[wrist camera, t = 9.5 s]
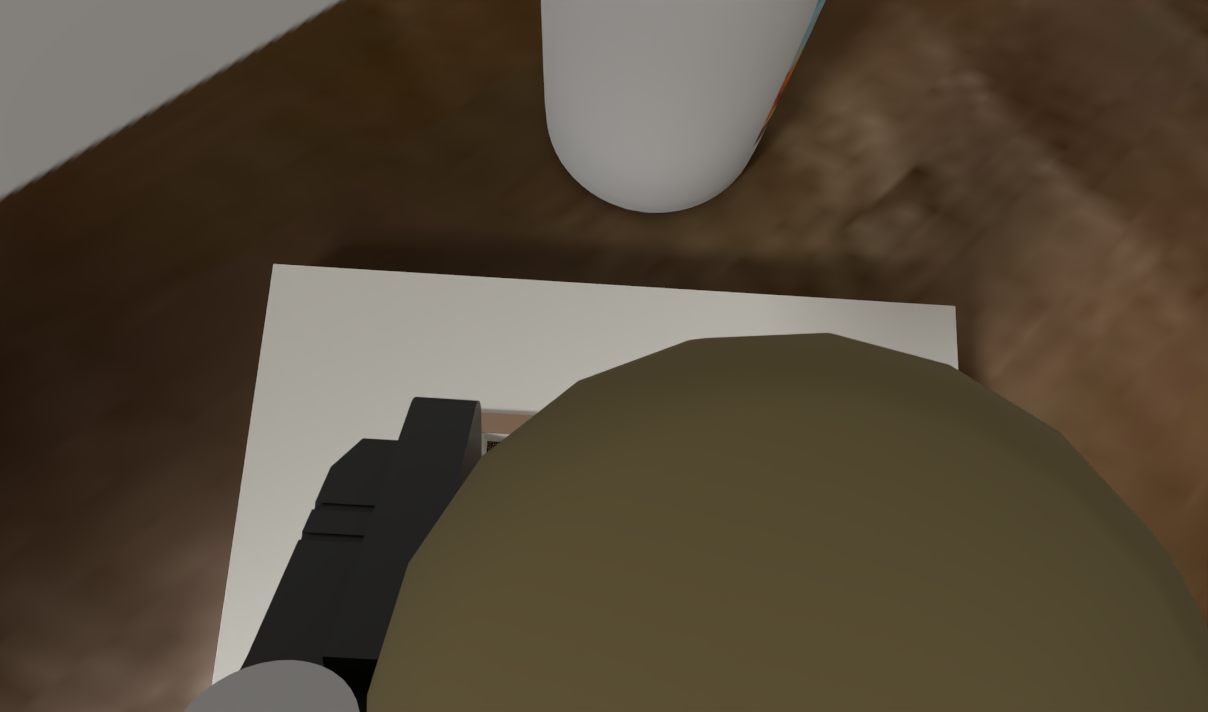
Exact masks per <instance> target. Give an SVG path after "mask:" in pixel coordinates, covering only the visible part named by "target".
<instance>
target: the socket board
mask: <svg viewBox="0 0 1208 712" xmlns="http://www.w3.org/2000/svg"><path fill="white" fill-rule="evenodd" d="M809 333H832V334H836V335H840V336H843V337H847V338H851V339H855V340H858V341H862V342H866V343H870V344H873V345H877V346H881V347H885V348H889V349H892V350H896V351H900V352H904V353H907V354H911V355H915V356H919V357H922V358H926V359H930V360H934V361H937V362H941V363H945V364H949V365H951V366H952V367H954V368H956V369H957V370H958V353H957V332H956V311H955V306H946V305H930V304H914V303H897V302H881V301H865V300H849V299H833V298H816V297H800V296H784V295H768V294H752V293H736V292H719V291H703V290H687V289H671V288H655V287H638V286H622V285H606V284H590V283H574V282H557V281H541V280H525V279H509V278H493V277H477V276H460V275H444V274H428V273H412V272H396V271H379V270H363V269H347V268H331V267H315V266H299V265H282V264H273V270H272V277H271V284H270V291H269V298H268V304H267V311H266V318H265V325H264V332H263V339H262V345H261V352H260V359H259V366H258V373H257V380H256V386H255V393H254V400H253V407H252V414H251V421H250V428H249V434H248V441H247V448H246V455H245V462H244V469H243V475H242V482H241V489H240V496H239V503H238V510H237V516H236V523H235V530H234V537H233V544H232V551H231V558H230V564H229V571H228V578H227V585H226V592H225V599H224V605H223V612H222V619H221V626H220V633H219V640H218V646H217V653H216V660H215V667H214V674H213V681H212V685H213V684H214V683H216V682H218V681H219V680H221V679H223V678H225V677H226V676H228V675H230V674H232V673H234V672H237V671H239V670H240V668H241V666H242V665H243V663H244V661H245V659H246V657H247V655H248V653H249V651H250V648H251V646H252V644H253V641H254V639H255V637H256V635H257V632H258V630H259V628H260V626H261V623H262V621H263V619H264V617H265V614H266V612H267V610H268V608H269V605H270V603H271V601H272V598H273V596H274V594H275V592H276V589H277V587H278V585H279V583H280V580H281V578H282V576H283V574H284V571H285V569H286V567H287V565H288V562H289V560H290V558H291V555H292V553H293V551H294V549H295V546H296V544H297V542H298V540H301V538H302V531H303V528H304V526H305V524H306V522H307V519H308V517H309V515H310V512H311V510H312V509H314V508H315V501H316V499H317V497H318V494H319V492H320V490H321V488H322V485H323V483H324V481H325V479H326V476H327V474H328V472H329V469H330V467H331V466H332V465H333V464H334V463H336V462H337V461H338V460H339V459H340V458H341V457H342V456H343V455H345V454H346V453H347V452H348V451H349V450H350V449H351V448H352V447H354V446H355V445H356V444H357V443H358V442H359V441H360V440H361V439H362V438H368V439H384V440H398V438H399V436H400V433H401V430H402V427H403V424H404V421H405V418H406V416H407V413H408V410H409V407H410V404H411V402H412V400H413V398H414V397H428V398H444V399H460V400H476V401H480V404H481V421H482V456H483V455H484V454H485V453H487V441H493V442H501V441H502V440H503V439H505V438H506V437H507V436H508V435H510V434H511V433H512V432H514V431H515V430H516V429H517V428H519V427H520V426H521V425H522V424H524V423H525V422H526V421H528V420H529V419H530V418H531V417H533V416H534V415H535V414H537V413H538V412H539V411H540V410H542V409H543V408H544V407H545V406H547V405H548V404H549V403H551V402H552V401H553V400H554V399H556V398H557V397H558V396H560V395H561V394H562V393H563V392H565V391H566V390H567V389H568V388H570V387H571V386H572V385H574V384H575V383H576V382H577V381H579V380H582V379H585V378H587V377H590V376H593V375H595V374H598V373H601V372H604V371H606V370H609V369H612V368H614V367H617V366H620V365H623V364H625V363H628V362H631V361H633V360H636V359H639V358H642V357H644V356H647V355H650V354H652V353H655V352H658V351H661V350H663V349H666V348H669V347H671V346H674V345H677V344H680V343H682V342H685V341H688V340H693V339H701V338H715V337H738V336H762V335H785V334H809Z"/></svg>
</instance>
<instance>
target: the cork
mask: <svg viewBox="0 0 1208 712" xmlns="http://www.w3.org/2000/svg"><path fill="white" fill-rule="evenodd" d="M367 712H1208V627H1207V625H1206V623H1205V621H1204V619H1203V617H1202V615H1201V613H1200V611H1199V610H1198V608H1197V606H1196V604H1195V602H1194V600H1193V598H1192V596H1191V594H1190V592H1189V590H1188V588H1187V586H1186V584H1185V582H1184V581H1183V579H1182V577H1181V575H1180V573H1179V571H1178V569H1177V567H1176V565H1175V563H1174V561H1173V559H1172V557H1171V556H1170V554H1169V553H1168V552H1167V550H1166V549H1165V548H1164V547H1163V545H1162V544H1161V543H1160V541H1159V540H1158V539H1157V538H1156V536H1155V535H1154V534H1153V532H1152V531H1151V530H1150V529H1149V528H1148V527H1147V526H1146V525H1145V524H1144V523H1143V522H1142V520H1141V519H1140V518H1139V517H1138V516H1137V515H1136V514H1135V513H1134V512H1133V511H1132V510H1131V509H1130V507H1129V506H1128V505H1127V504H1126V503H1125V502H1124V501H1123V500H1122V499H1121V498H1120V497H1119V496H1118V494H1117V493H1116V492H1115V491H1114V490H1113V489H1112V488H1111V487H1110V486H1109V485H1108V484H1107V483H1106V481H1105V480H1104V479H1103V478H1102V477H1101V476H1100V475H1099V474H1098V473H1097V472H1096V471H1095V470H1094V468H1093V467H1092V466H1091V465H1090V464H1089V463H1088V462H1087V461H1086V460H1085V459H1084V458H1083V457H1082V455H1081V454H1080V453H1079V452H1078V451H1077V450H1076V449H1075V448H1074V447H1073V446H1072V445H1071V444H1070V442H1069V441H1068V440H1067V439H1066V438H1065V437H1064V436H1063V435H1062V434H1061V433H1060V432H1059V431H1057V430H1056V429H1054V428H1052V427H1051V426H1049V425H1047V424H1046V423H1044V422H1042V421H1041V420H1039V419H1038V418H1036V417H1034V416H1033V415H1031V414H1029V413H1028V412H1026V411H1024V410H1023V409H1021V408H1020V407H1018V406H1016V405H1015V404H1013V403H1011V402H1010V401H1008V400H1006V399H1005V398H1003V397H1002V396H1000V395H998V394H997V393H995V392H993V391H992V390H990V389H988V388H987V387H985V386H984V385H982V384H980V383H979V382H977V381H975V380H974V379H972V378H970V377H969V376H967V375H966V374H964V373H962V372H961V371H959V370H957V369H956V368H954V367H952V366H951V365H949V364H945V363H941V362H937V361H934V360H930V359H926V358H922V357H919V356H915V355H911V354H907V353H904V352H900V351H896V350H892V349H889V348H885V347H881V346H877V345H873V344H870V343H866V342H862V341H858V340H855V339H851V338H847V337H843V336H840V335H836V334H832V333H809V334H785V335H762V336H738V337H715V338H701V339H693V340H688V341H685V342H682V343H680V344H677V345H674V346H671V347H669V348H666V349H663V350H661V351H658V352H655V353H652V354H650V355H647V356H644V357H642V358H639V359H636V360H633V361H631V362H628V363H625V364H623V365H620V366H617V367H614V368H612V369H609V370H606V371H604V372H601V373H598V374H595V375H593V376H590V377H587V378H585V379H582V380H579V381H577V382H576V383H575V384H574V385H572V386H571V387H570V388H568V389H567V390H566V391H565V392H563V393H562V394H561V395H560V396H558V397H557V398H556V399H554V400H553V401H552V402H551V403H549V404H548V405H547V406H545V407H544V408H543V409H542V410H540V411H539V412H538V413H537V414H535V415H534V416H533V417H531V418H530V419H529V420H528V421H526V422H525V423H524V424H522V425H521V426H520V427H519V428H517V429H516V430H515V431H514V432H512V433H511V434H510V435H508V436H507V437H506V438H505V439H503V440H502V441H501V442H499V443H498V444H497V445H496V446H494V447H493V448H492V449H490V450H489V451H488V452H487V453H485V454H484V455H483V456H482V457H481V458H480V460H479V461H478V462H477V464H476V465H475V467H474V468H473V470H472V471H471V473H470V474H469V476H468V477H467V478H466V480H465V481H464V483H463V484H462V486H461V487H460V489H459V490H458V492H457V493H456V495H455V496H454V497H453V499H452V500H451V502H450V503H449V505H448V506H447V508H446V509H445V511H444V512H443V513H442V515H441V516H440V518H439V519H438V521H437V522H436V524H435V525H434V527H433V528H432V529H431V531H430V532H429V534H428V535H427V537H426V538H425V540H424V541H423V543H422V544H421V546H420V547H419V548H418V550H417V551H416V553H415V554H414V556H413V557H412V559H411V560H410V562H409V563H408V566H407V569H406V572H405V575H404V579H403V582H402V585H401V588H400V591H399V595H398V598H397V601H396V604H395V607H394V611H393V614H392V617H391V620H390V623H389V626H388V630H387V633H386V636H385V639H384V642H383V646H382V649H381V652H380V655H379V658H378V662H377V665H376V668H375V671H374V674H373V677H372V681H371V684H370V687H369V690H368V693H367Z"/></svg>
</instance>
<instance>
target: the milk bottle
mask: <svg viewBox="0 0 1208 712" xmlns="http://www.w3.org/2000/svg"><path fill="white" fill-rule="evenodd" d="M825 1H826V0H541V15H542V43H543V71H544V95H545V109H546V119H547V127H548V132H549V136H550V139H551V142H552V145H553V147H554V149H555V152H556V154H557V156H558V157H559V159H560V161H561V162H562V164H563V165H564V167H565V168H566V170H567V171H568V172H569V173H570V174H571V175H572V177H573V178H574V179H575V180H576V181H577V182H579V183H580V184H581V185H582V186H583V187H584V188H586V189H587V190H588V191H589V192H591V193H593V194H594V195H596V196H597V197H599V198H601V199H603V200H605V201H607V202H608V203H611V204H614V205H616V206H619V207H622V208H625V209H628V210H634V211H639V212H646V213H664V212H674V211H680V210H684V209H688V208H691V207H694V206H697V205H699V204H702V203H704V202H706V201H708V200H710V199H712V198H713V197H715V196H717V195H718V194H720V193H721V192H722V191H724V190H725V189H726V188H727V187H729V186H730V185H731V184H732V183H733V182H734V181H735V180H736V178H737V177H738V176H739V175H740V174H741V172H742V171H743V169H744V168H745V167H746V165H747V163H748V161H749V160H750V158H751V156H752V154H753V152H754V151H755V149H756V147H757V145H758V143H759V141H760V139H761V137H762V135H763V133H764V131H765V129H766V127H767V124H768V122H769V120H770V118H771V116H772V114H773V112H774V110H775V108H776V106H777V104H778V102H779V99H780V97H781V95H782V93H783V91H784V89H785V87H786V85H787V83H788V81H789V78H790V76H791V74H792V72H793V70H794V68H795V66H796V64H797V62H798V59H799V57H800V55H801V53H802V51H803V49H804V46H805V44H806V42H807V40H808V38H809V36H810V33H811V31H812V29H813V27H814V25H815V23H816V20H817V18H818V16H819V14H820V12H821V10H822V7H823V5H824V3H825Z"/></svg>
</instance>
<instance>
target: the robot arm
mask: <svg viewBox="0 0 1208 712" xmlns="http://www.w3.org/2000/svg"><path fill="white" fill-rule="evenodd" d="M481 457H482V421H481V404H480V401H476V400H460V399H444V398H428V397H414V398H413V400H412V402H411V404H410V407H409V410H408V413H407V416H406V418H405V421H404V424H403V427H402V430H401V433H400V436H399V438H398V440H384V439H368V438H362V439H361V440H360V441H359V442H358V443H357V444H356V445H355V446H354V447H352V448H351V449H350V450H349V451H348V452H347V453H346V454H345V455H343V456H342V457H341V458H340V459H339V460H338V461H337V462H336V463H334V464H333V465H332V466H331V467H330V469H329V472H328V474H327V476H326V479H325V481H324V483H323V485H322V488H321V490H320V492H319V494H318V497H317V499H316V501H315V508H314V509H312V510H311V512H310V515H309V517H308V519H307V522H306V524H305V526H304V528H303V531H302V538H301V540H298V542H297V544H296V546H295V549H294V551H293V553H292V555H291V558H290V560H289V562H288V565H287V567H286V569H285V571H284V574H283V576H282V578H281V580H280V583H279V585H278V587H277V589H276V592H275V594H274V596H273V598H272V601H271V603H270V605H269V608H268V610H267V612H266V614H265V617H264V619H263V621H262V623H261V626H260V628H259V630H258V632H257V635H256V637H255V639H254V641H253V644H252V646H251V648H250V651H249V653H248V655H247V657H246V659H245V661H244V663H243V665H242V666H241V668H240V670H239V671H237V672H234V673H232V674H230V675H228V676H226V677H225V678H223V679H221V680H219V681H218V682H216V683H214V684H213V685H212V686H210V687H209V688H208V689H206V690H205V691H204V692H202V693H201V694H200V695H199V696H198V697H197V698H196V699H195V700H194V701H193V702H192V703H191V704H190V705H189V706H188V707H187V708H186V709H185V711H184V712H367V693H368V690H369V687H370V684H371V681H372V677H373V674H374V671H375V668H376V665H377V662H378V658H379V655H380V652H381V649H382V646H383V642H384V639H385V636H386V633H387V630H388V626H389V623H390V620H391V617H392V614H393V611H394V607H395V604H396V601H397V598H398V595H399V591H400V588H401V585H402V582H403V579H404V575H405V572H406V569H407V566H408V563H409V562H410V560H411V559H412V557H413V556H414V554H415V553H416V551H417V550H418V548H419V547H420V546H421V544H422V543H423V541H424V540H425V538H426V537H427V535H428V534H429V532H430V531H431V529H432V528H433V527H434V525H435V524H436V522H437V521H438V519H439V518H440V516H441V515H442V513H443V512H444V511H445V509H446V508H447V506H448V505H449V503H450V502H451V500H452V499H453V497H454V496H455V495H456V493H457V492H458V490H459V489H460V487H461V486H462V484H463V483H464V481H465V480H466V478H467V477H468V476H469V474H470V473H471V471H472V470H473V468H474V467H475V465H476V464H477V462H478V461H479V460H480V458H481Z"/></svg>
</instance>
